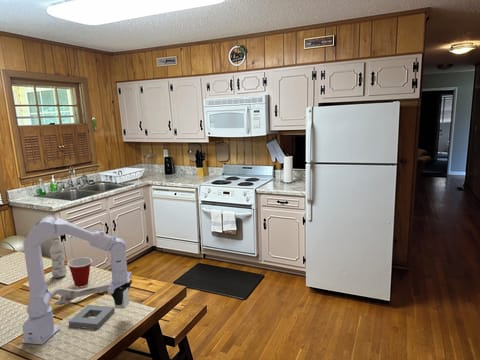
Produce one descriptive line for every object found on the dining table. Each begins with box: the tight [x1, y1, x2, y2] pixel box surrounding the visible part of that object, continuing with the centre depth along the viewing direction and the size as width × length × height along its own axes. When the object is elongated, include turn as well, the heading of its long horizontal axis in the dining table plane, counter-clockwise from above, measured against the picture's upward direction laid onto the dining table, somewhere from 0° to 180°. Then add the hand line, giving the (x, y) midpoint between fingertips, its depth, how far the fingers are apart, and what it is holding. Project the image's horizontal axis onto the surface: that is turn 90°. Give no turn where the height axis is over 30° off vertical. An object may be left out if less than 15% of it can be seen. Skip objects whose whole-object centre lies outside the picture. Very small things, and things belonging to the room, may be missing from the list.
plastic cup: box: [66, 257, 93, 288], centre depth 158 cm, size 11×11×12 cm
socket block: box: [68, 304, 115, 330], centre depth 130 cm, size 12×12×2 cm
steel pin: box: [113, 286, 130, 310], centre depth 128 cm, size 4×4×7 cm
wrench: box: [50, 282, 111, 306], centre depth 146 cm, size 8×2×30 cm
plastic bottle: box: [49, 237, 67, 279], centre depth 166 cm, size 6×7×20 cm
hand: (121, 301), depth 129 cm, fingers closed on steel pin, 4 cm apart
